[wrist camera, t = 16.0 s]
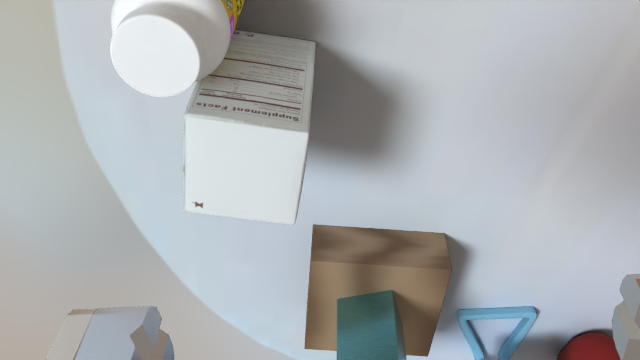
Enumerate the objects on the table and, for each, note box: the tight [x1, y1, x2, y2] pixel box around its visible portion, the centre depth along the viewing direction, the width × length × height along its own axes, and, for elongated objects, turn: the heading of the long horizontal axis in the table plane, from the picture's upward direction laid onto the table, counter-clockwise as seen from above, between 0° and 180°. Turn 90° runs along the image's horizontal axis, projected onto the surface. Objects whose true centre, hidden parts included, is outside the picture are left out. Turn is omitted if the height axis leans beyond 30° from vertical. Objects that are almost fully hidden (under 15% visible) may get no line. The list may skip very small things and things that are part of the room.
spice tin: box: [337, 290, 406, 360], centre depth 52 cm, size 5×5×8 cm
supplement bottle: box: [110, 0, 245, 97], centre depth 36 cm, size 7×7×13 cm
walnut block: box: [305, 225, 452, 356], centre depth 57 cm, size 12×12×5 cm
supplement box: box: [183, 30, 316, 224], centre depth 41 cm, size 7×7×13 cm
